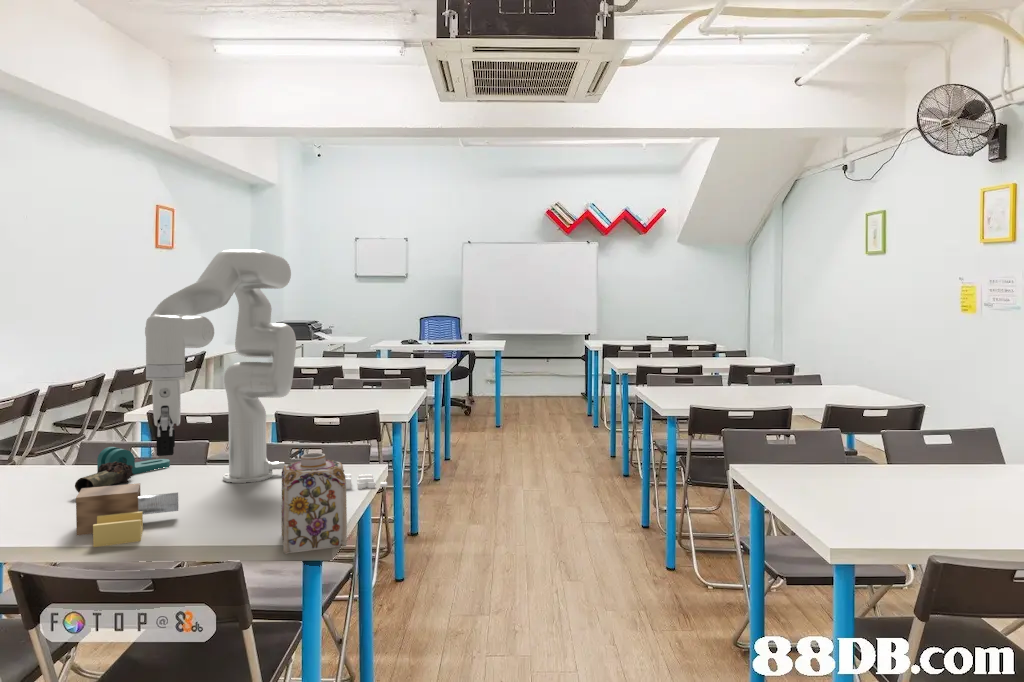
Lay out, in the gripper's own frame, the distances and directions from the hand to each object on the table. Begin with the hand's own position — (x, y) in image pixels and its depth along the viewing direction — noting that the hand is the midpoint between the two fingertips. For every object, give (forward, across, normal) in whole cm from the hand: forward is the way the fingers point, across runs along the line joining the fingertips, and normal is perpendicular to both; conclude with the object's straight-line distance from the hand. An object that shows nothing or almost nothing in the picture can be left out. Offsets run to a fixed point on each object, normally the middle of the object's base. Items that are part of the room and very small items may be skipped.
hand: (165, 451), depth 149 cm
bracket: (+15, +55, +9) cm, 57 cm away
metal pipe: (+18, +32, +17) cm, 40 cm away
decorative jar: (+16, -27, -27) cm, 41 cm away
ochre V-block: (+16, -9, +8) cm, 20 cm away
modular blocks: (+16, +10, -46) cm, 49 cm away
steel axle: (+12, +1, +7) cm, 13 cm away
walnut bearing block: (+16, +1, +11) cm, 19 cm away
